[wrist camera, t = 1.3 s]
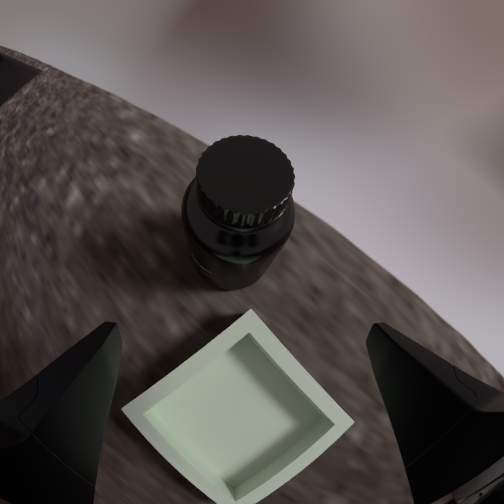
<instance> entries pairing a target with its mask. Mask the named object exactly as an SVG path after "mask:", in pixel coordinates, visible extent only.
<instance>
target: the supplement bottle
mask: <svg viewBox="0 0 504 504" xmlns="http://www.w3.org/2000/svg"><path fill="white" fill-rule="evenodd" d="M293 171H294V168H293V167H292V166H291V161H290V160H289V159H288V158H287V156H286V154H284V153H283V152H282V151H281V149H280V148H278V147H276V146H275V145H274V144H273V143H270V142H268V141H267V140H265V139H260V138H259V137H252V136H249V135H246V136H242V135H238V136H230V137H228V138H222V139H221V140H220V141H216V142H214V143H213V145H211V146H209V147H208V148H207V150H206V151H204V152H203V153H202V157H201V158H200V159H199V160H198V165H197V167H196V176H195V178H194V179H193V180H192V181H191V182H190V184H189V186H188V187H187V189H186V191H185V194H184V197H183V201H182V222H183V226H184V231H185V235H186V239H187V244H188V248H189V252H190V256H191V260H192V263H193V265H194V267H195V269H196V271H197V273H198V274H199V275H200V276H201V277H202V278H203V279H204V280H205V281H206V282H207V283H209V284H211V285H212V286H215V287H217V288H220V289H225V290H238V289H242V288H245V287H248V286H250V285H252V284H253V283H255V282H256V281H257V280H259V279H260V278H261V277H262V275H263V274H264V273H265V272H266V270H267V269H268V267H269V266H270V265H271V263H272V262H273V260H274V259H275V257H276V256H277V254H278V253H279V252H280V250H281V249H282V247H283V246H284V244H285V243H286V241H287V240H288V238H289V236H290V234H291V232H292V229H293V226H294V221H295V206H294V201H293V198H292V190H293V188H294V184H295V183H294V179H295V175H294V173H293Z"/></svg>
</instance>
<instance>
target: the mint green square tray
mask: <svg viewBox="0 0 504 504" xmlns="http://www.w3.org/2000/svg"><path fill="white" fill-rule="evenodd" d="M121 410H122V411H123V412H124V413H125V415H126V416H127V417H128V418H129V419H130V421H131V422H132V423H133V424H134V425H135V427H136V428H137V429H138V430H139V431H140V432H141V433H142V435H143V436H144V437H145V438H146V439H147V440H148V441H149V442H150V443H151V444H152V445H153V447H154V448H155V449H156V450H157V451H158V452H159V453H160V454H161V455H162V456H163V457H164V458H165V459H166V460H167V461H168V462H169V463H170V464H171V465H172V466H173V467H175V468H176V469H177V470H178V471H179V472H180V473H181V474H182V475H183V476H184V477H185V478H187V479H188V480H189V481H190V482H191V483H192V484H193V485H195V486H196V487H197V488H198V489H199V490H201V491H202V492H203V493H204V494H206V495H207V496H208V497H209V498H211V499H212V500H213V501H215V502H216V503H217V504H255V503H257V502H258V501H260V500H261V499H263V498H264V497H266V496H267V495H269V494H270V493H272V492H273V491H275V490H276V489H277V488H279V487H280V486H282V485H283V484H284V483H286V482H287V481H288V480H290V479H291V478H292V477H294V476H295V475H296V474H298V473H299V472H300V471H301V470H303V469H304V468H305V467H306V466H308V465H309V464H310V463H311V462H312V461H314V460H315V459H316V458H317V457H318V456H319V455H321V454H322V453H323V452H324V451H325V450H326V449H327V448H328V447H329V446H331V445H332V444H333V443H334V442H335V441H336V440H337V439H338V438H339V437H340V436H341V435H342V434H343V433H344V432H345V431H346V430H347V429H348V428H349V427H350V426H351V425H352V424H353V423H354V421H353V420H352V419H351V418H350V417H349V416H348V415H347V414H346V413H345V412H344V411H343V410H342V409H341V407H340V406H339V405H338V404H337V403H336V402H335V401H334V400H333V399H332V398H331V397H330V396H329V395H328V394H327V393H326V392H325V391H324V390H323V388H322V387H321V386H320V385H319V384H318V383H317V382H316V381H315V380H314V379H313V378H312V377H311V376H310V374H309V373H308V372H307V371H306V370H305V369H304V368H303V367H302V366H301V365H300V363H299V362H298V361H297V360H296V359H295V358H294V357H293V356H292V355H291V354H290V352H289V351H288V350H287V349H286V348H285V347H284V346H283V345H282V343H281V342H280V341H279V340H278V339H277V338H276V337H275V336H274V334H273V333H272V332H271V331H270V330H269V329H268V328H267V326H266V325H265V324H264V323H263V322H262V321H261V320H260V318H259V317H258V316H257V315H256V314H255V313H254V311H253V310H252V309H250V310H249V311H248V312H246V313H245V314H244V315H243V316H242V317H240V318H239V319H238V320H237V321H235V322H234V323H233V324H232V325H231V326H229V327H228V328H227V329H226V330H224V331H223V332H222V333H221V334H219V335H218V336H217V337H216V338H214V339H213V340H212V341H211V342H209V343H208V344H207V345H206V346H204V347H203V348H202V349H200V350H199V351H198V352H197V353H195V354H194V355H193V356H191V357H190V358H189V359H188V360H186V361H185V362H184V363H182V364H181V365H180V366H178V367H177V368H176V369H175V370H173V371H172V372H171V373H169V374H168V375H167V376H165V377H164V378H163V379H161V380H160V381H159V382H157V383H156V384H155V385H153V386H152V387H150V388H149V389H148V390H146V391H145V392H144V393H142V394H141V395H139V396H138V397H137V398H135V399H134V400H133V401H131V402H130V403H128V404H127V405H126V406H124V407H123V408H121Z"/></svg>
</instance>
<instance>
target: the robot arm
mask: <svg viewBox="0 0 504 504" xmlns="http://www.w3.org/2000/svg"><path fill="white" fill-rule="evenodd" d="M366 347H367V350H368V354H369V357H370V361H371V365H372V369H373V373H374V376H375V379H376V382H377V385H378V388H379V391H380V393H381V396H382V399H383V402H384V404H385V407H386V410H387V413H388V416H389V419H390V422H391V425H392V428H393V431H394V434H395V437H396V440H397V443H398V446H399V450H400V453H401V456H402V460H403V463H404V466H405V470H406V474H407V478H408V481H409V485H410V489H411V493H412V497H413V501H414V504H431V503H433V502H435V501H437V500H439V499H441V498H442V497H444V496H446V495H448V494H450V493H451V494H452V496H453V498H452V499H451V500H449V501H448V502H446V503H445V504H504V392H502V391H500V390H498V389H496V388H494V387H492V386H490V385H488V384H486V383H484V382H482V381H480V380H478V379H476V378H474V377H473V376H471V375H469V374H467V373H465V372H464V371H462V370H460V369H459V368H457V367H456V366H454V365H452V364H451V363H449V362H448V361H446V360H444V359H443V358H441V357H439V356H438V355H436V354H435V353H433V352H431V351H430V350H428V349H426V348H425V347H423V346H422V345H420V344H418V343H417V342H415V341H413V340H412V339H410V338H408V337H407V336H405V335H404V334H402V333H400V332H399V331H397V330H395V329H394V328H392V327H390V326H389V325H387V324H386V323H383V322H381V323H374V324H373V325H372V327H371V330H370V332H369V334H368V337H367V339H366ZM121 350H122V339H121V335H120V332H119V328H118V325H117V323H115V322H104V323H103V324H101V325H100V326H99V327H97V328H96V329H95V330H93V331H92V332H91V333H89V334H88V335H87V336H85V337H84V338H83V339H81V340H80V341H79V342H78V343H76V344H75V345H74V346H72V347H71V348H70V349H68V350H67V351H66V352H65V353H63V354H62V355H61V356H59V357H58V358H57V359H56V360H54V361H53V362H52V363H51V364H49V365H48V366H47V367H45V368H44V369H43V370H42V371H40V372H39V373H38V375H35V376H34V377H33V378H32V379H30V380H29V381H28V382H27V383H25V384H24V385H23V386H21V387H20V388H19V389H17V390H16V391H14V392H13V393H12V394H10V395H9V396H7V397H6V398H4V399H3V400H1V401H0V504H93V502H94V493H95V485H96V478H97V471H98V465H99V459H100V453H101V448H102V443H103V438H104V433H105V428H106V424H107V419H108V415H109V411H110V406H111V402H112V398H113V394H114V391H115V386H116V381H117V375H118V369H119V362H120V356H121Z"/></svg>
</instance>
